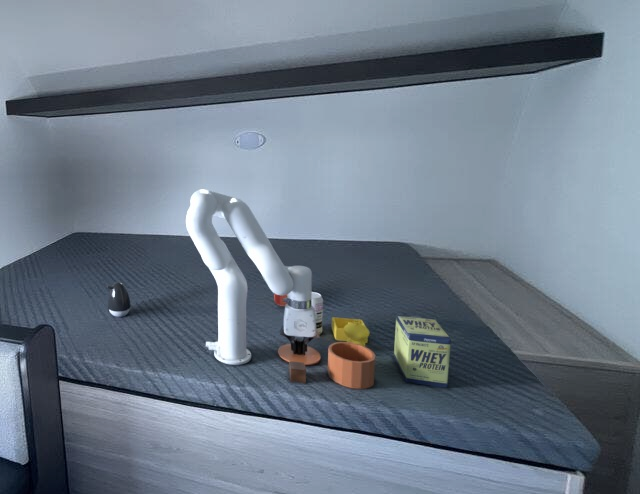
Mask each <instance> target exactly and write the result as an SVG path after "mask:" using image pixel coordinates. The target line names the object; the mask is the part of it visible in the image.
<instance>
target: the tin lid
mask: <svg viewBox="0 0 640 494" xmlns="http://www.w3.org/2000/svg"><path fill="white" fill-rule="evenodd" d="M295 342H296V354H294V353H293V351H291V343H286V344H282V345H281V346H279V348H278V349H277V354H278V356H279V357H280V358H281V359H282V360H284V361H285V362H288V363H289V361H292V362H303V363H304V364H305V366H313V365H316V364H318V363H319V362H320V361H321V359H322V358H321V357H322V355H321V353H320V352H319V351H318V350H316V349H315V348H313V347H311V346H308V345H307V352H305V355H303V338H301V337H297V338H296V337H295Z"/></svg>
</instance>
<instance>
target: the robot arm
mask: <svg viewBox="0 0 640 494" xmlns="http://www.w3.org/2000/svg"><path fill="white" fill-rule="evenodd" d="M189 200H190V201H189V202H190V206H189V207H188V209H187V212H186V217H185V227H186V230H187V233H188V235H189V237H190V239H191V240H192V242H193V245H194V246H195V247H196V249H197V251H198V253H199V255H200V256H201V259H202V262H203V263H204V264H205V266H206V267H207V268H208V269H209V271H210V273H211V274H212V276H213V277H214V279H215V282H216V285H217V325H218V326H217V327H218V328H217V329H218V331H217V332H218V339H217V341H214V342H213V341H205V348H208V351H213V353H214V354H213V355H214V357H215V358H216V360H218V362H220V363H223V364H225V365H230V366H241V365H246V364H248V363H249V362H250V361H251V359H252V353H251V351H250V350H249V349H248V348H247V300H248V292H249V291H248V289H249V288H248V282H247V279H246V277H245V275H244V273H243V272H242V270H241V268H240V267H239V266H238V264H237V261H235V258H234V256H233V255H232V253H231V252H230V250H229V249H228V247H227V246H228V245H226V243H225V242H224V240H223V239H221V237H220V235H219V234H218V232H217V230H216V228H215V227H214V224H213V217H215V218H219V219H222V220H225V221H226V222H227V223H228V225H229V227H230V228H231V230H232V232H233V233H234V235H235V237H236V239H237V240H238V242H239V244H240V246H241V247H242V249H243V251H245V253H246V255H247V256H248V257H249V259H250V260H251V261H252V262H253V264H254V265H255V266H256V268H257V269H258V271H259V272H260V274H261V277H262V279H263V281H264V283H265V284H266V285H267V286H268V288H269V289H270V291H271V292H272V293H273V294H274V295H275V294H277V295H280V296H283V295H287V294H288V296H287V297H286V298H283V302H285V303H287V304H286V305H285V306H284V309H283V318H282V326H281V328H280V330H279V335H280V336H282V337H284V338H286V339H287V340H288V341H289V342H290V344H291V351H293V353H294V354H296V342H295V339H296V337H297V338H302V340H303V355H305V352H307V346H308V345H309V343H310V342H311V341H313V340H315V339H318V338H320V334H318V332H317V330H316V317H315V310H314V307H313V306H312V305H311V299H312V292H313V291H312V290H313V285H312V284H313V273H312V270H311V268H310V267H308V266H306V265H305V266H304V265H292V266H290V265H289V266H288V265H285V264H284V263H283V261H282V259H281V258H280V256H279V255H278V253H277V252H276V250H275V249H274V247H273V245H272V243H271V241H270V239H269V238H268V236H267V235H266V233H265V232H264V230H263V228H262V226H261V225H260V223H259V221H258V220H257V218H256V217H255V214H254V213H253V211H252V210H251V208H250V206H249V205H248V204H247V203H246V202H245V201H243V200H241V198H237V197H233V196H230V195H226V194H222V193H218V192H215V191H212V190H209V189H204V188H203V189H202V188H201V189H198V190H196V191H194V192H193V194H191V196H190V199H189Z"/></svg>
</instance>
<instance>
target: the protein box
mask: <svg viewBox="0 0 640 494" xmlns="http://www.w3.org/2000/svg"><path fill="white" fill-rule="evenodd" d="M451 343H452V339H451V337H450V336H449V335H448V334H447V333H446V331H445V330H444V329H443V327H442V326H441V325H440V324H439V322H438V321H437V320H436V319H435V318H434V317H426V316H415V315H406V314H396V315H395V331H394V350H393V358H394V360H395V362H396V364H397V366H398V368H399V370H400V372H401V375H402V376H403V379H404V380H405V382H406V383H411V384H417V385H425V386H433V387H438V388H445V389H447V388H448V381H449V368H450V358H451V357H450V356H451V345H452V344H451Z"/></svg>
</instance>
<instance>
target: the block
mask: <svg viewBox="0 0 640 494" xmlns="http://www.w3.org/2000/svg"><path fill="white" fill-rule="evenodd" d="M288 375H289V380H290V382H291V383H292V382H293V383H299V384H300V383H301V384H306V383H307V368H306V365H305V364H304V363H303V362H292V361H289V362H288Z"/></svg>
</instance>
